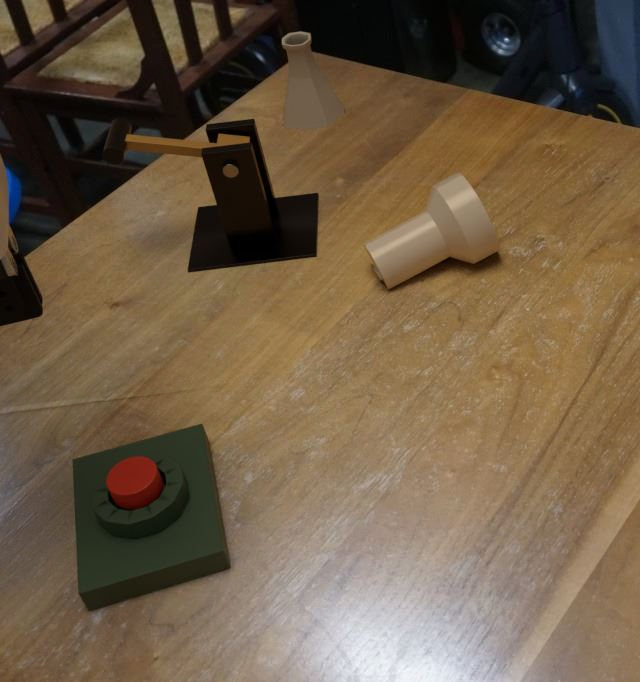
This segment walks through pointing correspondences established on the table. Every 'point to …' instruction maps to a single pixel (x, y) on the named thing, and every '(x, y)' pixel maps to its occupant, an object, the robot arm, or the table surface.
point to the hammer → (155, 143)
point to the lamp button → (134, 483)
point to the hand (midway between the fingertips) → (18, 313)
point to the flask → (307, 88)
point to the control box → (148, 521)
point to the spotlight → (435, 234)
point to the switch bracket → (248, 208)
